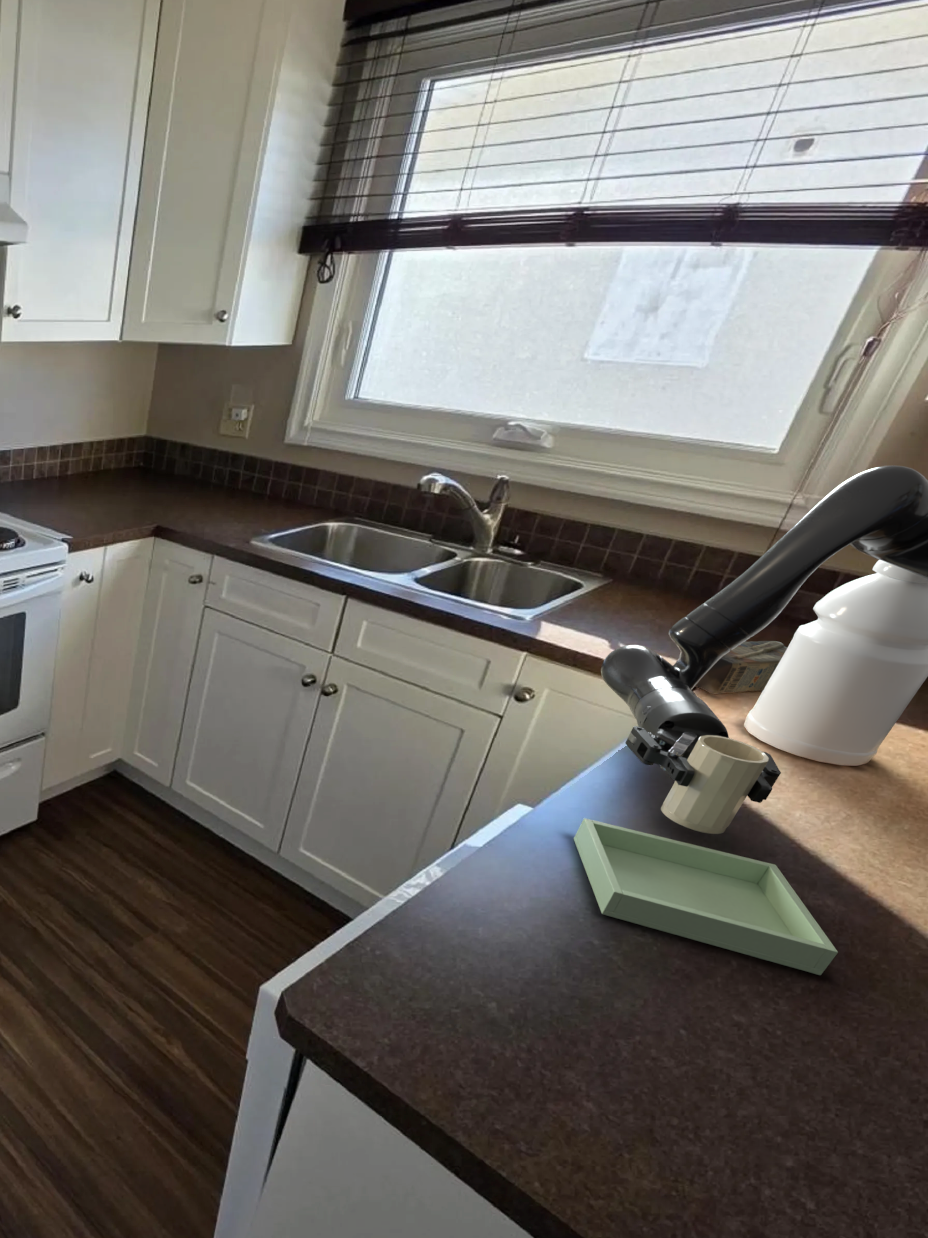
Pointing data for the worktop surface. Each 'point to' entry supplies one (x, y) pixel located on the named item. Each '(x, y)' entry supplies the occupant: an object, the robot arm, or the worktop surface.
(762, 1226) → the worktop surface
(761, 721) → the bottle
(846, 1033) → the worktop surface
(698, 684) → the beverage carton
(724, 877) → the tray
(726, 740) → the cup
